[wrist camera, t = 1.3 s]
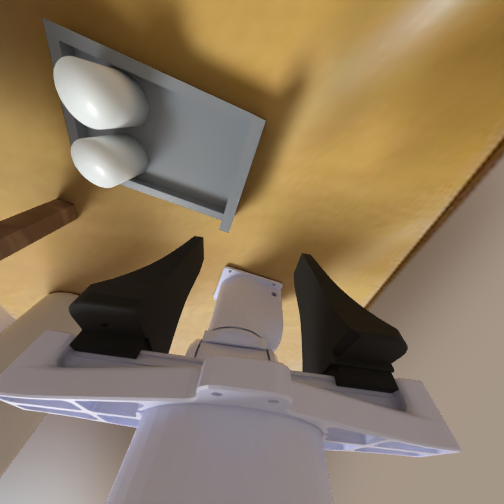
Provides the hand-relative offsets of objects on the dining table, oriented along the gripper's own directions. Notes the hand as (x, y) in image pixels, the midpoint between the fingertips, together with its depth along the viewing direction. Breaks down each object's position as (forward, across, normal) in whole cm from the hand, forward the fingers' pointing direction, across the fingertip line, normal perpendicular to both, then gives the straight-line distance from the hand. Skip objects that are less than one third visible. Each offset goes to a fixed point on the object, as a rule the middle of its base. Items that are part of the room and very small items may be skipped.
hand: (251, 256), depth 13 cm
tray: (+10, +9, -5) cm, 14 cm away
